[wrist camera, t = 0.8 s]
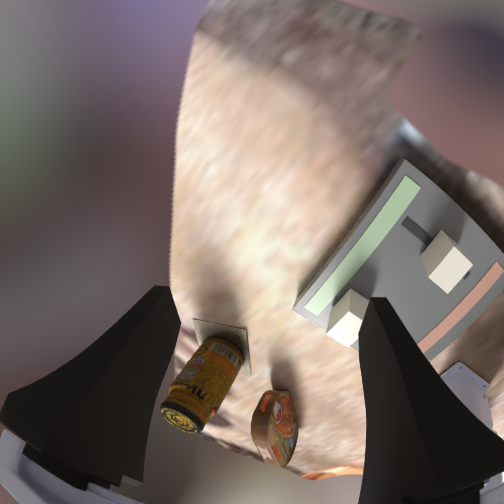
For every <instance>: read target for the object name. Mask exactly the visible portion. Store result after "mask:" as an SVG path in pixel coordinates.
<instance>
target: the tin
mask: <svg viewBox="0 0 504 504" xmlns="http://www.w3.org/2000/svg"><path fill="white" fill-rule="evenodd" d="M251 436H252V439H253V441H254V443H255V445H256V447H257V449H258V451H259V452H260V454H261V456H262V458H263V460H264V461H265V462H266V463H267V464H270V465H274V466H279V467H281V468H283V467H285V466H286V465H287V464H288V463H289V461H290V460H291V458H292V455H293V453H294V450H295V447H296V443H297V438H298V421H297V417H296V414H295V410H294V406H293V402H292V398H291V395H290V393H289V392H287V391H275V390H269V391H266V392H265V393H264V394H263V395H262V397H261V399H260V401H259V403H258V405H257V407H256V409H255V411H254V413H253V416H252V421H251Z"/></svg>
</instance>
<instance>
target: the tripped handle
mask: <svg viewBox="0 0 504 504" xmlns="http://www.w3.org/2000/svg"><path fill="white" fill-rule="evenodd" d="M420 259H421V261H422V264H423V266H424V268H425V271H426V273H427V276H428V278H430V279H431V280H432V281H433V282H434V283H436V284H437V285H438V286H439V287H440V288H441V289H443V290H444V291H445V292H446V293H447V294H448V293H449V292H450V291H451V290H452V289H453V288H454V286H455V285H456V284H457V283H458V282H459V281H460V280H461V279H462V277H463V276H464V275H465V274H466V273H467V272H468V270H469V269H470V268H471V267H472V266H473V264H472V263H471V261H470V260H469V258H468V257H467V256H466V254H465V253H464V252H463V250H462V249H461V248H460V246H459V245H458V244H457V243H456V242H455V241H453V240H452V239H451V238H450V237H449V236H448V235H447V234H446V233H445V232H444V231H443V230H442V229H441V231H440V232H439V233H438V235H437V236H436V237H435V238H434V240H433V241H432V242H431V243H430V245H429V246H428V247H427V248H426V250H425V251H424V252H423V253H422V254H421V256H420Z"/></svg>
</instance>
